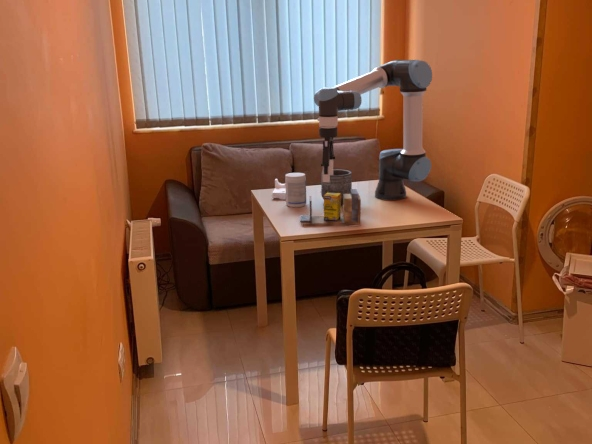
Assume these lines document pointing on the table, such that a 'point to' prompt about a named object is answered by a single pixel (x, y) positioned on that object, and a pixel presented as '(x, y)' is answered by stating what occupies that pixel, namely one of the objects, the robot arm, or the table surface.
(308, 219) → the bookend
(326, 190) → the planter
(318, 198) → the table surface
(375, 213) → the table surface
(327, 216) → the supplement box
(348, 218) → the board
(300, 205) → the supplement tub
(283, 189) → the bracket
